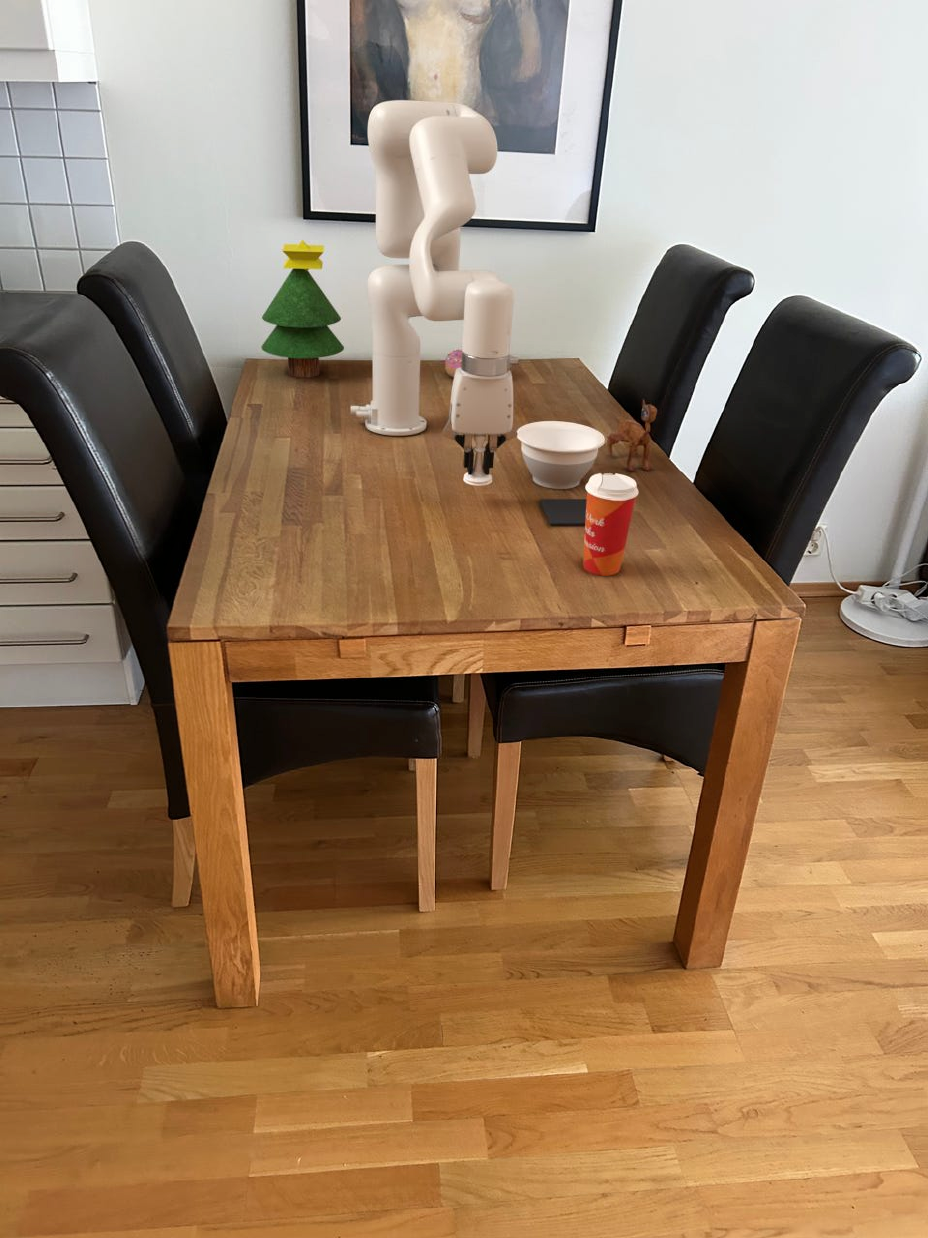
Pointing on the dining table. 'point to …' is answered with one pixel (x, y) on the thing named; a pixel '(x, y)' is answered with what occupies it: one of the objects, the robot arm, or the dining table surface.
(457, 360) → the donut
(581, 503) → the coaster
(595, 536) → the paper cup
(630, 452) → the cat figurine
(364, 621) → the dining table surface
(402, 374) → the robot arm
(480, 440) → the chess piece
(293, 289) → the decorative tree
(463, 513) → the dining table surface
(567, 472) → the bowl
